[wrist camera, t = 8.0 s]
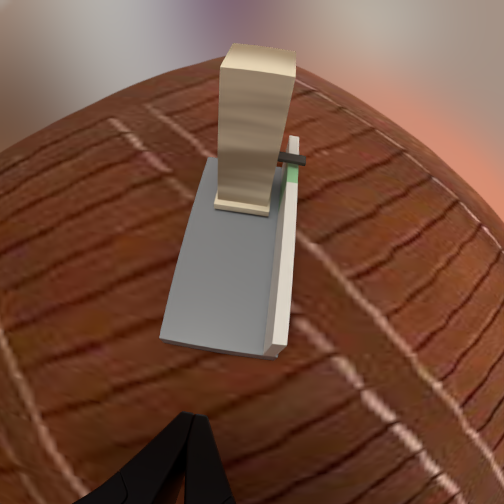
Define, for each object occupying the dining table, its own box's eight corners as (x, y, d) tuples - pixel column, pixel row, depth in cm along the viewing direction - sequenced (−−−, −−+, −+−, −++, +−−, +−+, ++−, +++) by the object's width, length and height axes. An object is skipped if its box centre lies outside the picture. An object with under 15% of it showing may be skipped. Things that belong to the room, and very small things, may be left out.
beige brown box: (292, 220, 24) (336, 90, 13) (213, 208, 24) (214, 70, 13) (294, 176, 27) (328, 56, 16) (225, 165, 26) (231, 40, 16)
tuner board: (273, 360, 20) (290, 345, 16) (163, 342, 20) (145, 322, 15) (289, 180, 29) (301, 137, 24) (208, 167, 28) (208, 123, 24)
